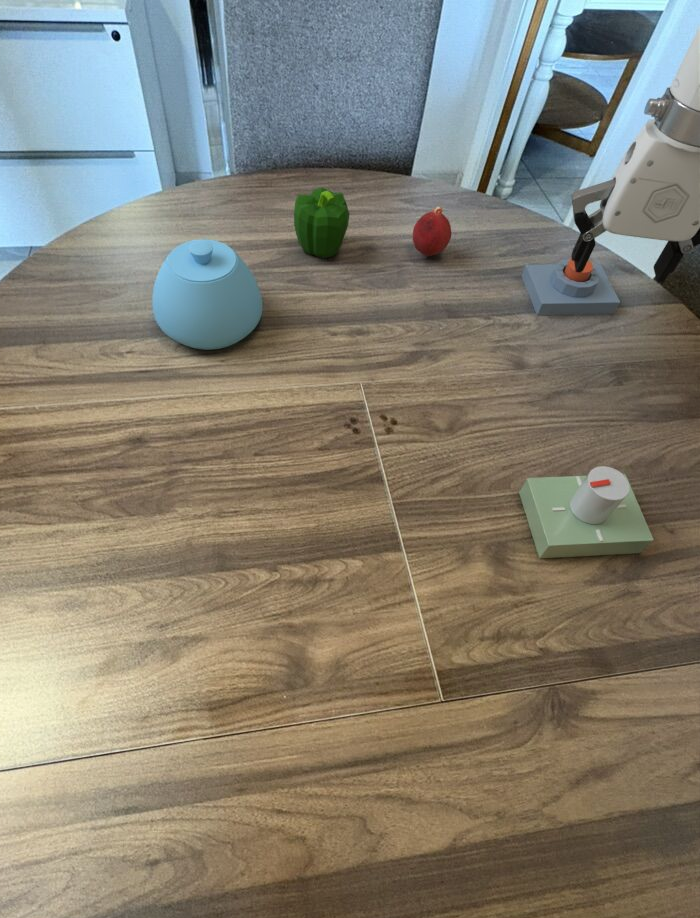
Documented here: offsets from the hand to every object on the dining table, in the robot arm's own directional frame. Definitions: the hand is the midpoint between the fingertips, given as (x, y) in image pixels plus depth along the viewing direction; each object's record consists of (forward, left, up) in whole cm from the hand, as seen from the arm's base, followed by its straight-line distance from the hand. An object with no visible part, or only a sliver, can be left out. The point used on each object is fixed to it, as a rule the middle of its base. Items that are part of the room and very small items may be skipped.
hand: (617, 270), depth 74 cm
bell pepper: (+33, -26, -15) cm, 45 cm away
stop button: (-4, -14, -11) cm, 18 cm away
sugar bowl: (+50, -10, -15) cm, 53 cm away
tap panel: (+7, +26, -15) cm, 31 cm away
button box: (-4, -14, -15) cm, 20 cm away
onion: (+16, -24, -15) cm, 32 cm away
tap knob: (+7, +26, -12) cm, 30 cm away
